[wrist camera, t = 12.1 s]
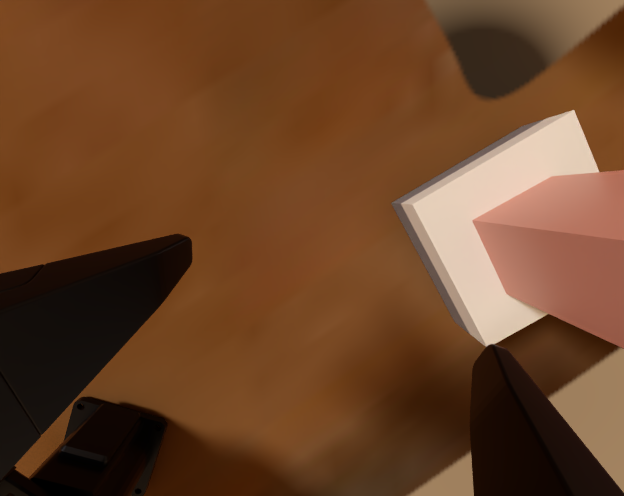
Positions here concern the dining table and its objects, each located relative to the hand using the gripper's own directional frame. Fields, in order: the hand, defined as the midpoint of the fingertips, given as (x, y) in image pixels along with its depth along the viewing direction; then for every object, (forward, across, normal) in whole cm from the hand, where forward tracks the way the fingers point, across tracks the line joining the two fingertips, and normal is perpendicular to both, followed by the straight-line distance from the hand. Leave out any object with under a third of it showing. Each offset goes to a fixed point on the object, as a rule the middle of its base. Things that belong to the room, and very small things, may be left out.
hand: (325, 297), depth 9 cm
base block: (+16, -8, +3) cm, 18 cm away
